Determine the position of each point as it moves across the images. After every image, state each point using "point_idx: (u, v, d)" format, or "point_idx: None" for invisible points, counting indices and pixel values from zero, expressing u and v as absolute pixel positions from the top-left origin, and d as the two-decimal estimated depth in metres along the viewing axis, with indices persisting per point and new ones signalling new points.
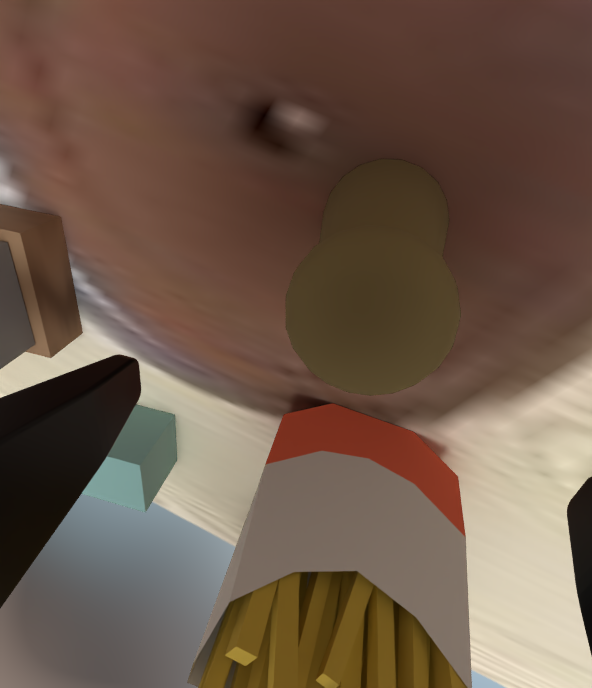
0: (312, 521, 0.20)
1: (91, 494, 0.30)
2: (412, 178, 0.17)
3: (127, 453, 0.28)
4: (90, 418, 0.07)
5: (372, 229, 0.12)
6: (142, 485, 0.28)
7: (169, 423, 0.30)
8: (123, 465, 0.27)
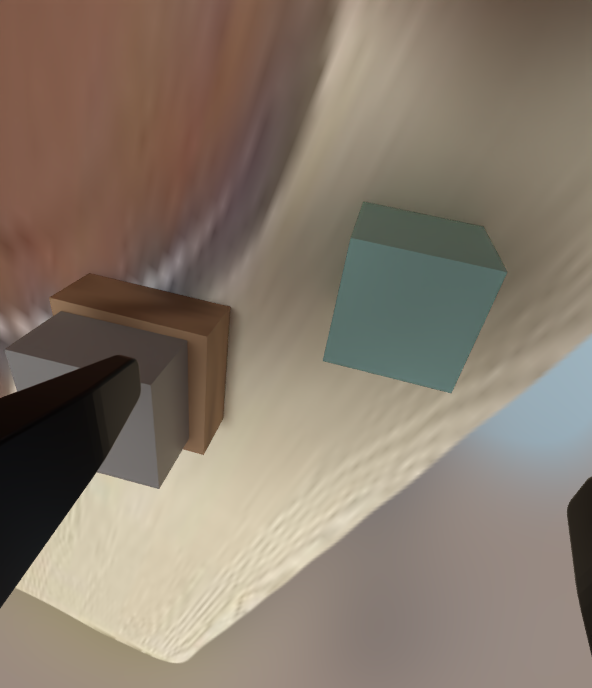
0: None
1: (452, 373, 0.15)
2: None
3: None
4: (90, 418, 0.07)
5: None
6: (412, 251, 0.13)
7: (363, 207, 0.17)
8: (355, 273, 0.14)
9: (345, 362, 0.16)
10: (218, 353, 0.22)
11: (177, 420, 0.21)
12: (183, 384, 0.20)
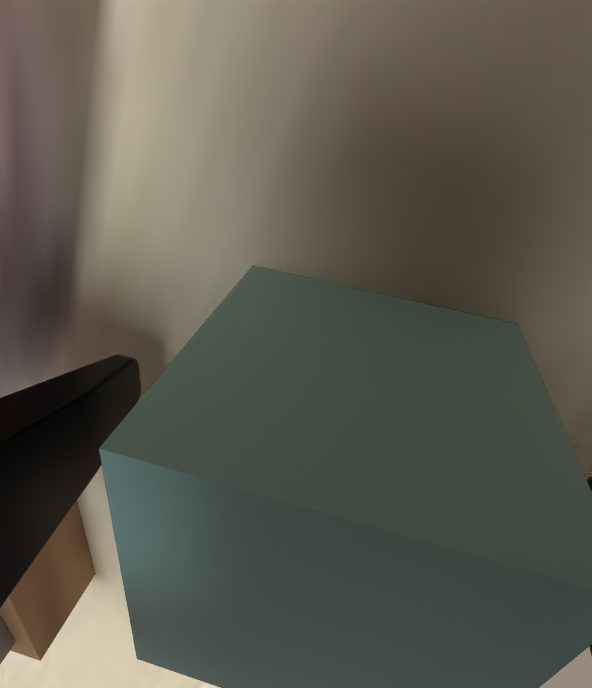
0: None
1: None
2: None
3: None
4: (90, 418, 0.07)
5: None
6: (300, 504, 0.04)
7: (242, 284, 0.07)
8: (146, 529, 0.05)
9: (186, 671, 0.07)
10: None
11: None
12: None
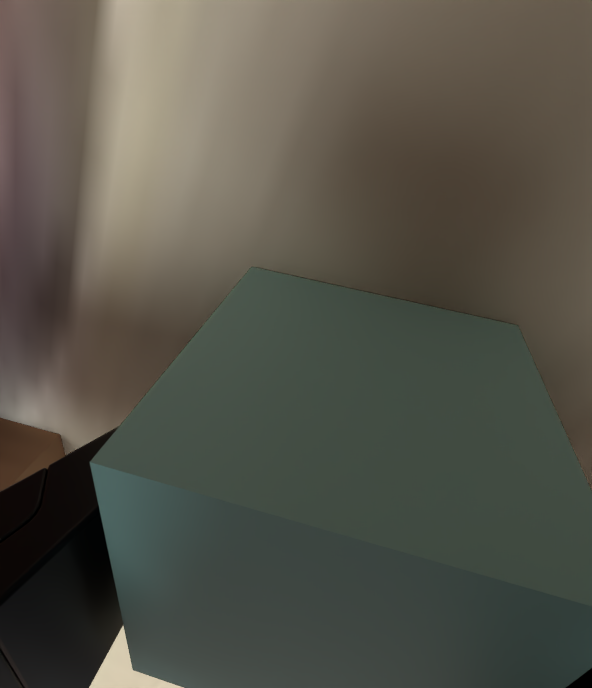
0: None
1: None
2: None
3: None
4: None
5: None
6: (297, 520, 0.04)
7: (239, 287, 0.07)
8: (140, 542, 0.05)
9: (183, 683, 0.07)
10: None
11: None
12: None
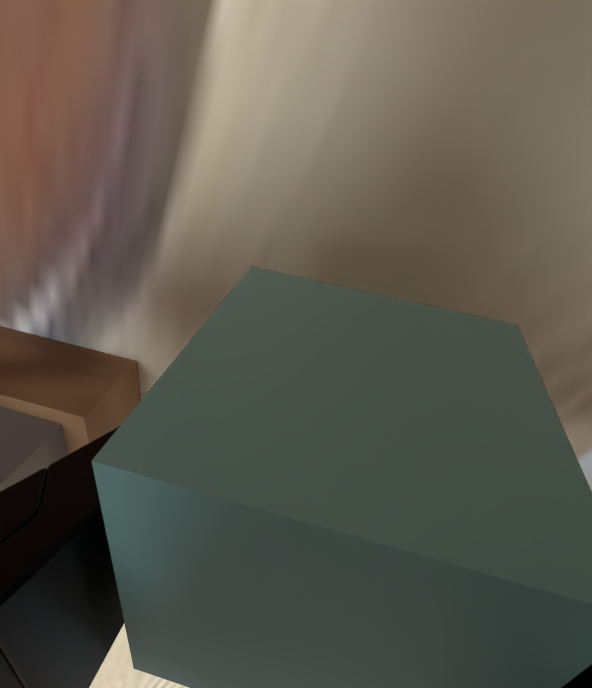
0: None
1: None
2: None
3: None
4: None
5: None
6: (298, 517, 0.04)
7: (239, 287, 0.07)
8: (141, 542, 0.05)
9: (184, 681, 0.07)
10: None
11: None
12: None
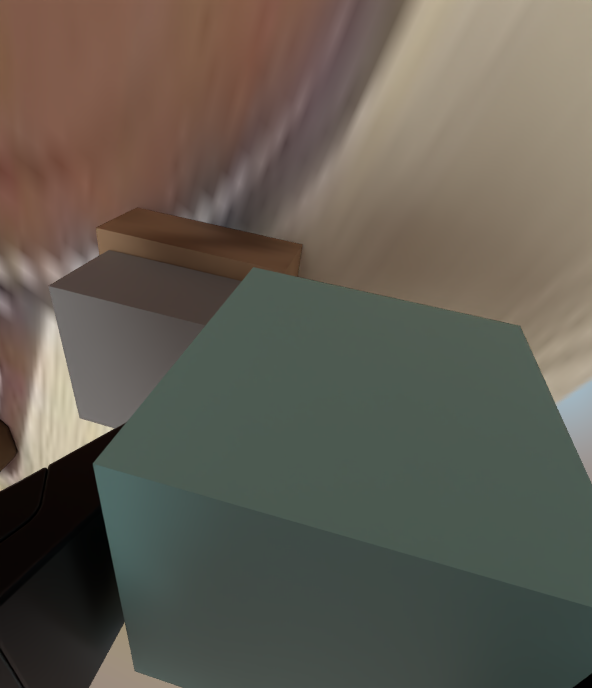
0: None
1: None
2: None
3: None
4: None
5: None
6: (300, 521, 0.04)
7: (241, 288, 0.07)
8: (142, 545, 0.05)
9: (185, 684, 0.07)
10: None
11: None
12: None
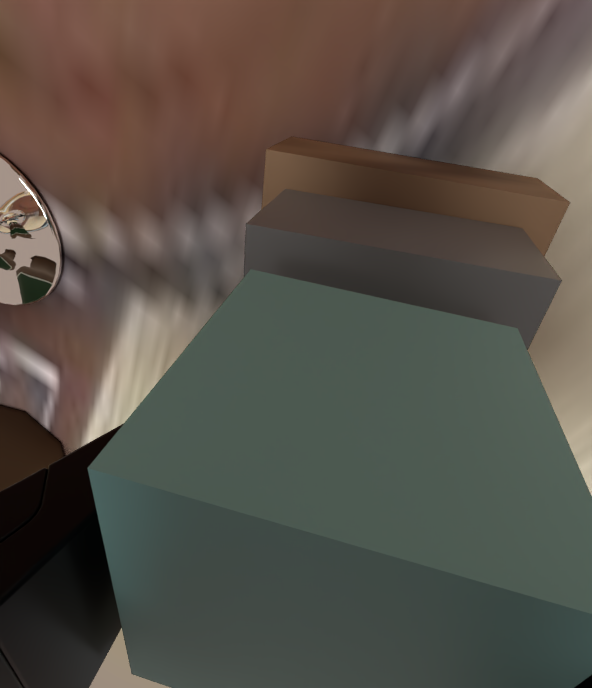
0: None
1: None
2: None
3: None
4: None
5: None
6: (296, 525, 0.04)
7: (238, 290, 0.07)
8: (138, 548, 0.05)
9: (182, 687, 0.07)
10: None
11: None
12: None
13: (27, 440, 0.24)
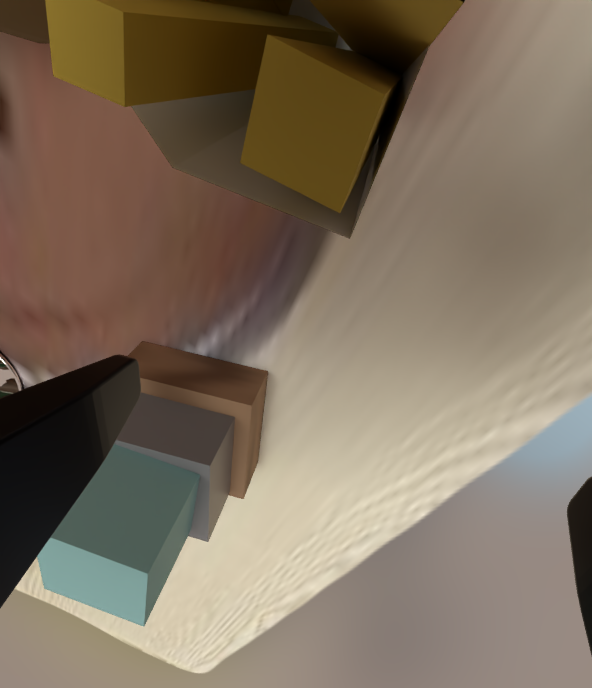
0: None
1: (139, 616, 0.19)
2: None
3: None
4: (90, 418, 0.07)
5: None
6: (78, 547, 0.17)
7: None
8: (44, 548, 0.17)
9: (61, 593, 0.19)
10: (258, 413, 0.25)
11: (223, 482, 0.24)
12: (229, 452, 0.24)
13: None
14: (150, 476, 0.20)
